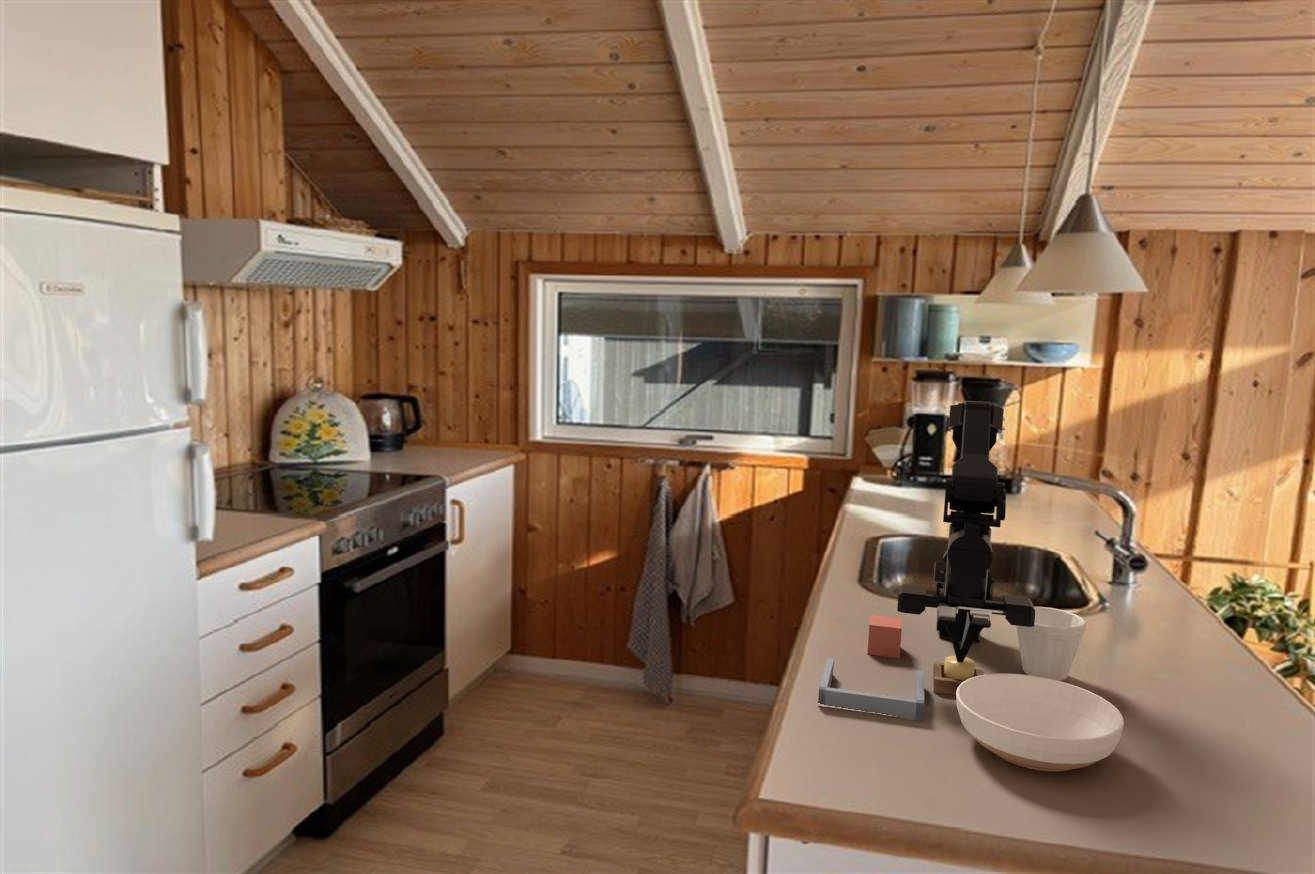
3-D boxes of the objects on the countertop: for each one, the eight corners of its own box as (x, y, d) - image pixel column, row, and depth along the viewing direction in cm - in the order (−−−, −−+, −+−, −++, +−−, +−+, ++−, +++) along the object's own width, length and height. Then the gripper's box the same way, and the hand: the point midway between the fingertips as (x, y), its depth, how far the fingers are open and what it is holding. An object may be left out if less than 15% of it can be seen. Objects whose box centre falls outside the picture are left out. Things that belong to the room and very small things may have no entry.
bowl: (1156, 778, 110) (1162, 730, 109) (1018, 798, 105) (1022, 747, 104) (1045, 709, 129) (1049, 667, 128) (922, 723, 123) (926, 679, 122)
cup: (1013, 658, 147) (1017, 602, 146) (1081, 670, 143) (1087, 613, 142) (1006, 679, 138) (1011, 620, 137) (1079, 693, 134) (1085, 632, 133)
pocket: (922, 686, 135) (923, 670, 135) (923, 721, 124) (924, 703, 123) (826, 673, 139) (827, 657, 138) (817, 706, 127) (818, 688, 127)
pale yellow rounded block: (972, 678, 137) (974, 657, 137) (974, 689, 133) (975, 668, 133) (943, 674, 138) (944, 654, 138) (943, 685, 134) (945, 664, 134)
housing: (981, 680, 138) (982, 667, 138) (984, 698, 131) (985, 685, 131) (932, 673, 140) (933, 661, 140) (933, 691, 133) (934, 678, 133)
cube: (900, 647, 151) (902, 618, 150) (899, 658, 146) (901, 628, 145) (868, 643, 152) (870, 614, 151) (867, 654, 147) (869, 624, 147)
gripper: (1030, 550, 138) (1021, 649, 140) (902, 538, 143) (895, 634, 145) (1039, 570, 128) (1030, 677, 130) (900, 556, 132) (893, 660, 135)
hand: (959, 661), depth 135 cm, fingers closed, pressing on pale yellow rounded block
